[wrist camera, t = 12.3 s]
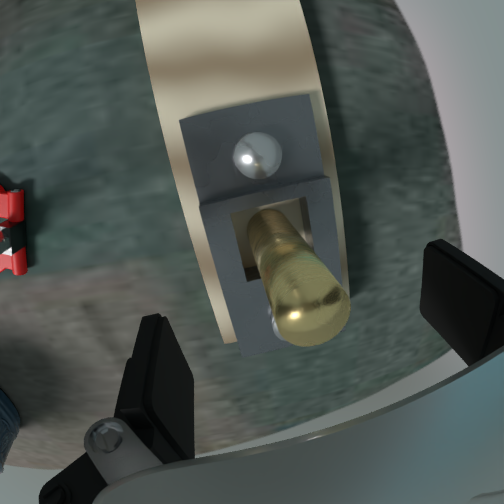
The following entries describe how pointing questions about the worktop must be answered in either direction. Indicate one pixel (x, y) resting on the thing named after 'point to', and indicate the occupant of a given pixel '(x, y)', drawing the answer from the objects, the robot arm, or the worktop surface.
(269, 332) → the riveted slotted plate
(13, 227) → the tow hook
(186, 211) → the jig board
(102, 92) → the worktop surface
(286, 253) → the pin
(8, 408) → the canister
